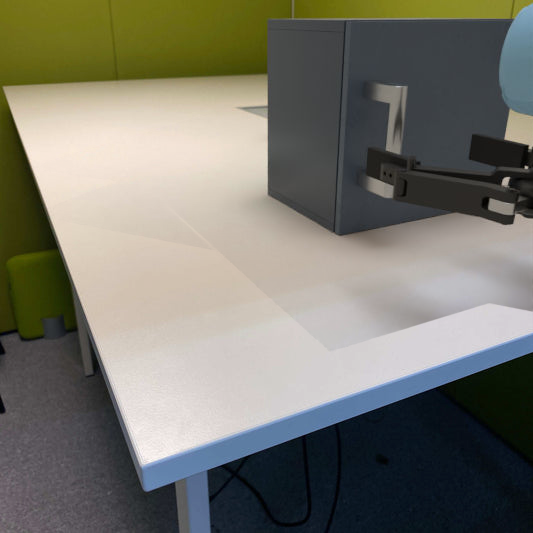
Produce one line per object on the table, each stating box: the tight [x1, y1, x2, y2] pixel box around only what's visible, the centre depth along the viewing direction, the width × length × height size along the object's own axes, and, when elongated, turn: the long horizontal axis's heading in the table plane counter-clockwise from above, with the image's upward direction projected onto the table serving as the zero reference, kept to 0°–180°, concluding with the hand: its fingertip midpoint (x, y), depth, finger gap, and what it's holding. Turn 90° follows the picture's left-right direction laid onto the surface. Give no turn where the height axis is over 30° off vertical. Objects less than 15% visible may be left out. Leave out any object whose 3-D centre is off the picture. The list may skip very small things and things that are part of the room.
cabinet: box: [267, 17, 515, 234], centre depth 76 cm, size 18×26×24 cm
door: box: [334, 20, 514, 236], centre depth 66 cm, size 7×26×24 cm, turn 117°
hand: (423, 153), depth 56 cm, fingers open, 13 cm apart
